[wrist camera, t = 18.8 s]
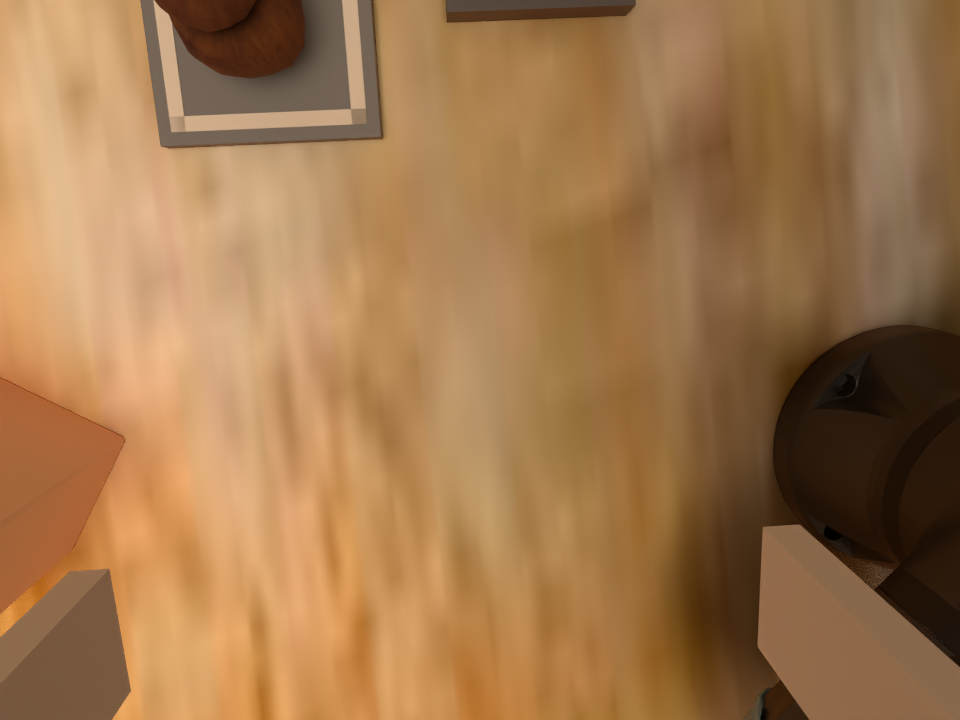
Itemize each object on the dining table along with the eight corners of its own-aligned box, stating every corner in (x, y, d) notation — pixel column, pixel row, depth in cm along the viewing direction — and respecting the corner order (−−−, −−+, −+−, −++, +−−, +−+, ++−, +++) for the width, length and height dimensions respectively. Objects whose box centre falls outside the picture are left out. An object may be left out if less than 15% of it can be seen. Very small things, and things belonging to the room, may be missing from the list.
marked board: (365, -97, 37) (362, -108, 35) (382, 138, 39) (380, 136, 38) (136, -89, 36) (125, -100, 35) (169, 148, 39) (160, 146, 38)
